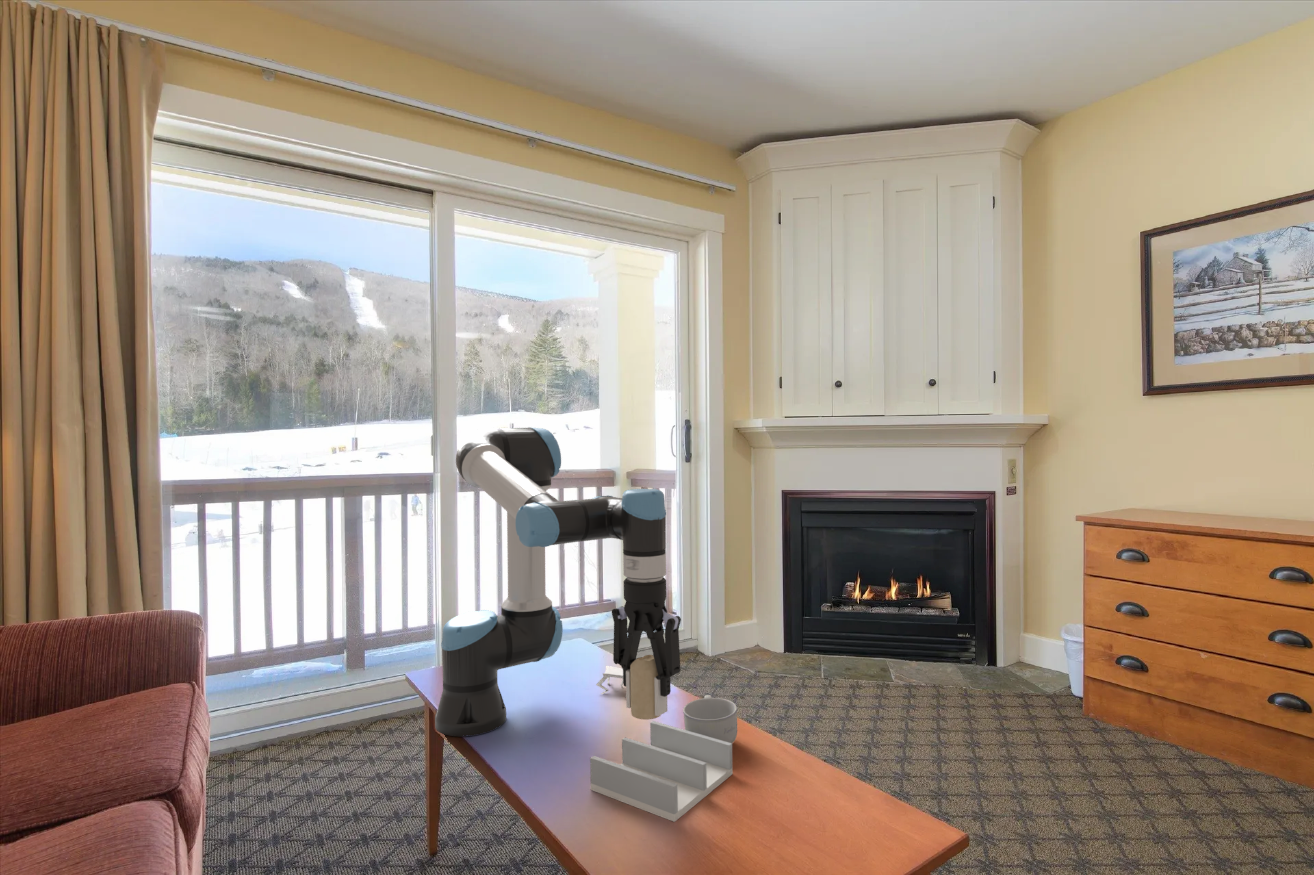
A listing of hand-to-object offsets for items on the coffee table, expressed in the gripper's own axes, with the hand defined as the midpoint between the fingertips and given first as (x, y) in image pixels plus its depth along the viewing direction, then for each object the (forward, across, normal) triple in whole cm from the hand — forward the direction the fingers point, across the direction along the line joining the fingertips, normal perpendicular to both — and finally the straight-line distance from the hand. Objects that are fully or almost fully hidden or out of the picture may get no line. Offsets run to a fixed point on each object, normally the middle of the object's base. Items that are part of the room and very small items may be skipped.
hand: (646, 709), depth 122 cm
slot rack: (+15, 0, +4) cm, 15 cm away
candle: (+1, 0, 0) cm, 1 cm away
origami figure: (+15, -34, +34) cm, 51 cm away
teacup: (+15, -1, +23) cm, 27 cm away
